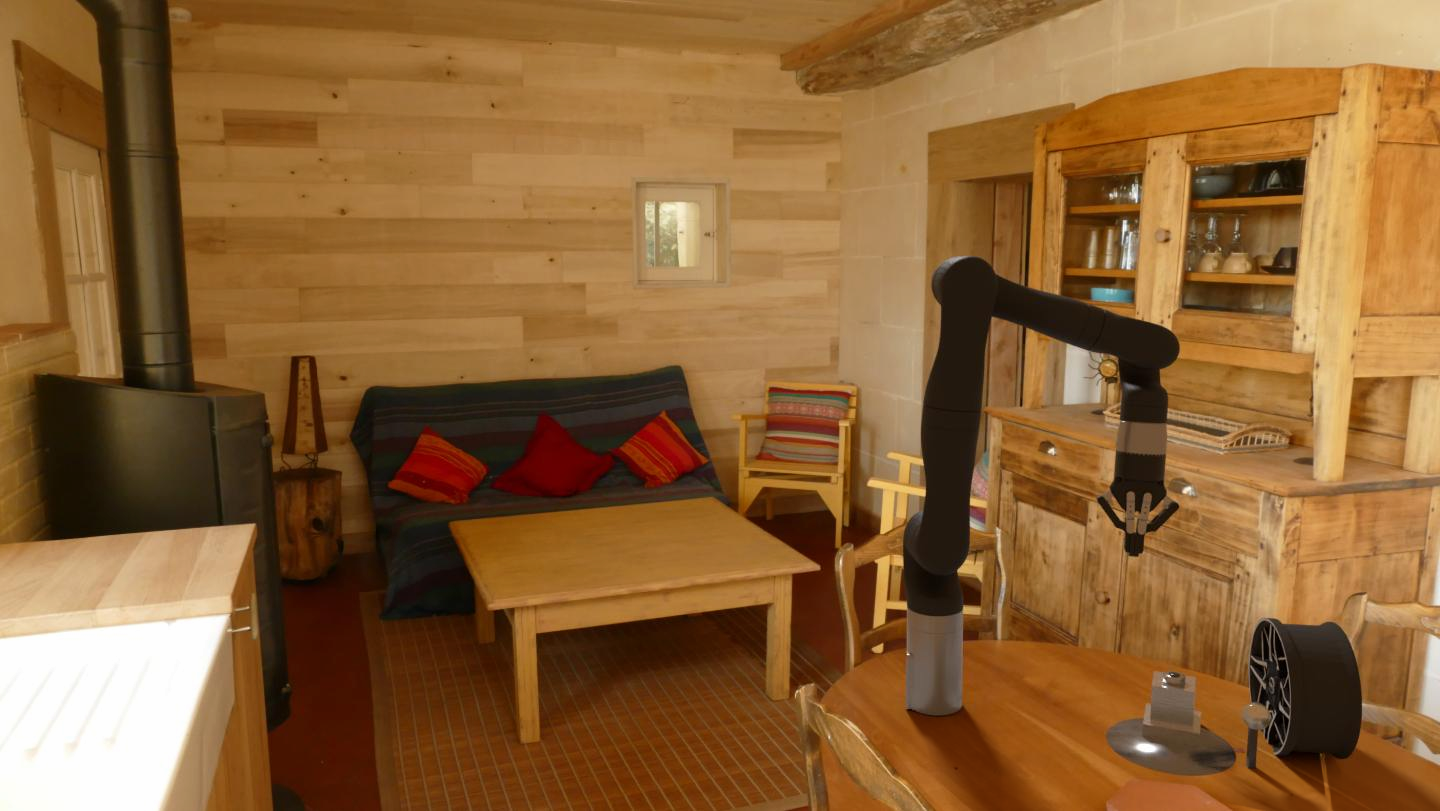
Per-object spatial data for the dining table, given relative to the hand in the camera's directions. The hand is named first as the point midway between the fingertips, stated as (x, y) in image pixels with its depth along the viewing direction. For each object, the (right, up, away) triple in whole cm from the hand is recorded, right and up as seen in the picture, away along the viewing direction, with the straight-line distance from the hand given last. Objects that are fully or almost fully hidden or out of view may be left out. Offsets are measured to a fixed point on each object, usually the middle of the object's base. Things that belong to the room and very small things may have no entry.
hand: (1133, 555), depth 165 cm
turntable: (+1, -28, -11) cm, 30 cm away
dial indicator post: (+10, -29, -18) cm, 35 cm away
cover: (+4, -26, -6) cm, 27 cm away
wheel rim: (+21, -28, -11) cm, 36 cm away
